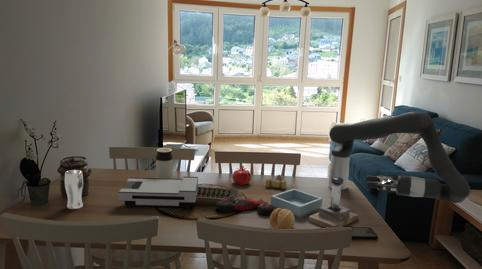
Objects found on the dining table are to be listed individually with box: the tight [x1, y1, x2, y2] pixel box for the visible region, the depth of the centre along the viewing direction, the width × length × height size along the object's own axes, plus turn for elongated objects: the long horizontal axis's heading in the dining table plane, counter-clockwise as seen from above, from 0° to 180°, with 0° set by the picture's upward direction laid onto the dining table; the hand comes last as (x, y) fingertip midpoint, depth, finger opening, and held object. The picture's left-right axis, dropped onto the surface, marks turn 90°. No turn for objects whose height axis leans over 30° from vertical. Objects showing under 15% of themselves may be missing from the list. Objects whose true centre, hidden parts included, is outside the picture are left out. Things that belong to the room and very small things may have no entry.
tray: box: [270, 188, 323, 219], centre depth 172 cm, size 16×16×5 cm
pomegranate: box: [231, 165, 252, 186], centre depth 201 cm, size 10×10×9 cm
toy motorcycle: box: [215, 196, 275, 216], centre depth 170 cm, size 25×5×16 cm
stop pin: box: [329, 177, 344, 212], centre depth 159 cm, size 5×5×16 cm
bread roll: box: [269, 208, 296, 230], centre depth 149 cm, size 10×15×8 cm, turn 168°
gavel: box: [265, 174, 287, 190], centre depth 206 cm, size 21×5×10 cm
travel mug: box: [155, 147, 173, 179], centre depth 193 cm, size 8×8×18 cm
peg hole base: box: [308, 202, 359, 229], centre depth 161 cm, size 18×12×5 cm, turn 134°
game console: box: [117, 176, 199, 210], centre depth 174 cm, size 21×32×8 cm, turn 93°
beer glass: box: [64, 169, 84, 210], centre depth 161 cm, size 7×7×15 cm
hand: (366, 181), depth 154 cm, fingers open, 8 cm apart
